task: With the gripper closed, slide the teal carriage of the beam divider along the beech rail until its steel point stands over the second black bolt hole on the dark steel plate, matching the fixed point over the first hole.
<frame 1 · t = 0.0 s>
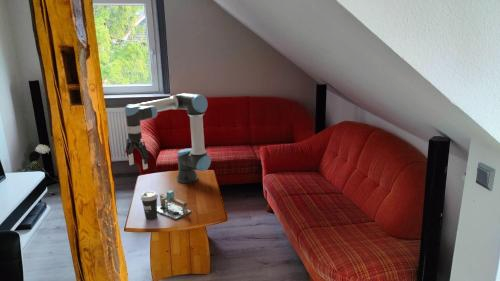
hand: (138, 166, 220), 28 cm above the table, fingers open, 13 cm apart
slider leg: (169, 200, 224), point 7 cm above the table, slide at 0.0 cm
bolt plate: (171, 211, 224), on the table
coffee cup: (151, 217, 217), on the table
divider rail: (174, 210, 225), resting on bolt plate
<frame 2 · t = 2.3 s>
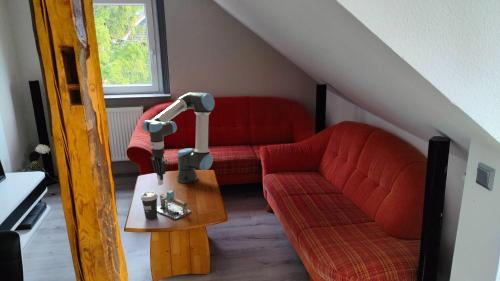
hand: (160, 184, 227), 15 cm above the table, fingers closed
nothing on the table moved.
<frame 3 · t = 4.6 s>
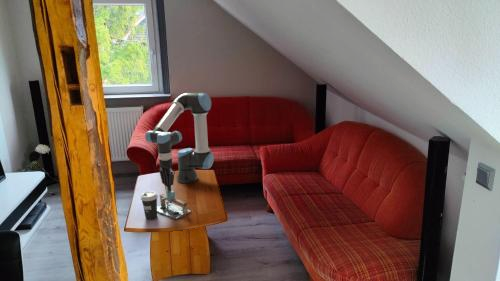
hand: (168, 195, 225), 9 cm above the table, fingers closed
slider leg: (170, 200, 223), point 7 cm above the table, slide at 0.7 cm, touching gripper
everything else where it was.
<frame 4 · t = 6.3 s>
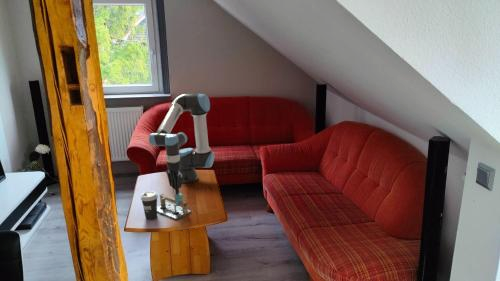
hand: (176, 198, 221), 9 cm above the table, fingers closed
slider leg: (177, 203, 219), point 7 cm above the table, slide at 7.7 cm, touching gripper
everything else where it was.
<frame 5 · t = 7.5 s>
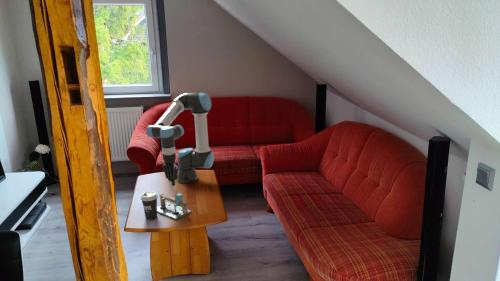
hand: (172, 190, 222), 13 cm above the table, fingers closed
slider leg: (177, 203, 219), point 7 cm above the table, slide at 7.7 cm
everything else where it was.
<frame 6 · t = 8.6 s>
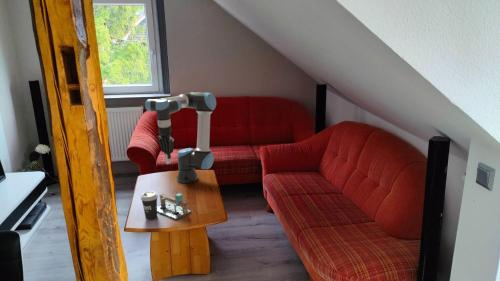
hand: (168, 163, 225), 28 cm above the table, fingers closed
nothing on the table moved.
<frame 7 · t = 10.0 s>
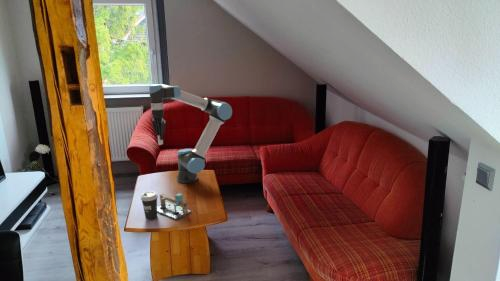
hand: (160, 144, 241), 34 cm above the table, fingers closed
nothing on the table moved.
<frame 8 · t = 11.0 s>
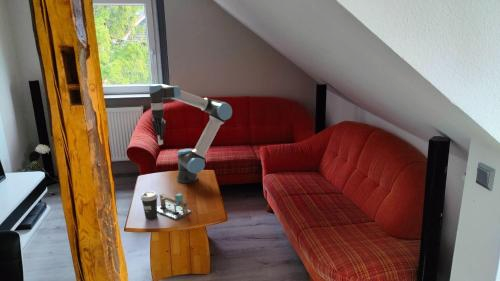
hand: (160, 144, 241), 34 cm above the table, fingers closed
nothing on the table moved.
at the end: slider leg slide at 7.7 cm; coffee cup moved 0.2 cm from its start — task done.
